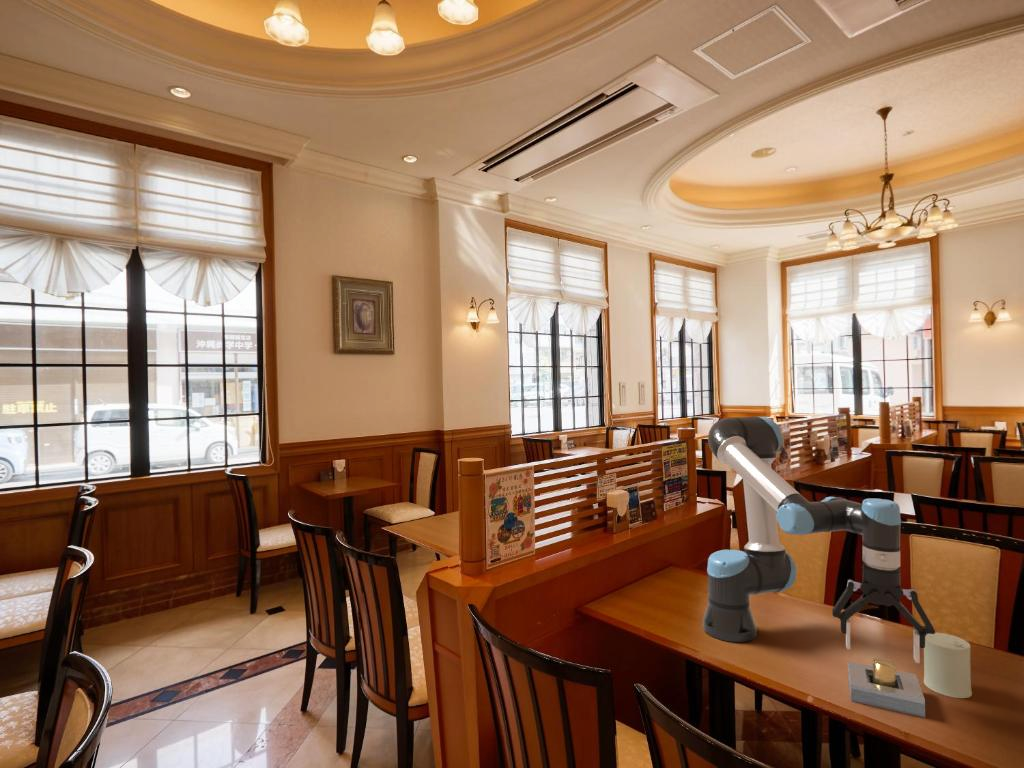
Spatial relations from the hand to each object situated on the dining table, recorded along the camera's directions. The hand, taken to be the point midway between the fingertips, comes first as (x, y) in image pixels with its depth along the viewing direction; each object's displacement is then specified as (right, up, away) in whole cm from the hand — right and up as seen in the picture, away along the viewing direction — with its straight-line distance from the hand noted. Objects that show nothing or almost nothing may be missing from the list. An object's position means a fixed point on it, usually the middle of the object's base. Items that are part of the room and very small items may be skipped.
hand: (881, 653), depth 130 cm
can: (+18, -10, +3) cm, 21 cm away
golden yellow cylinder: (0, -10, -1) cm, 10 cm away
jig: (0, -10, -1) cm, 10 cm away
